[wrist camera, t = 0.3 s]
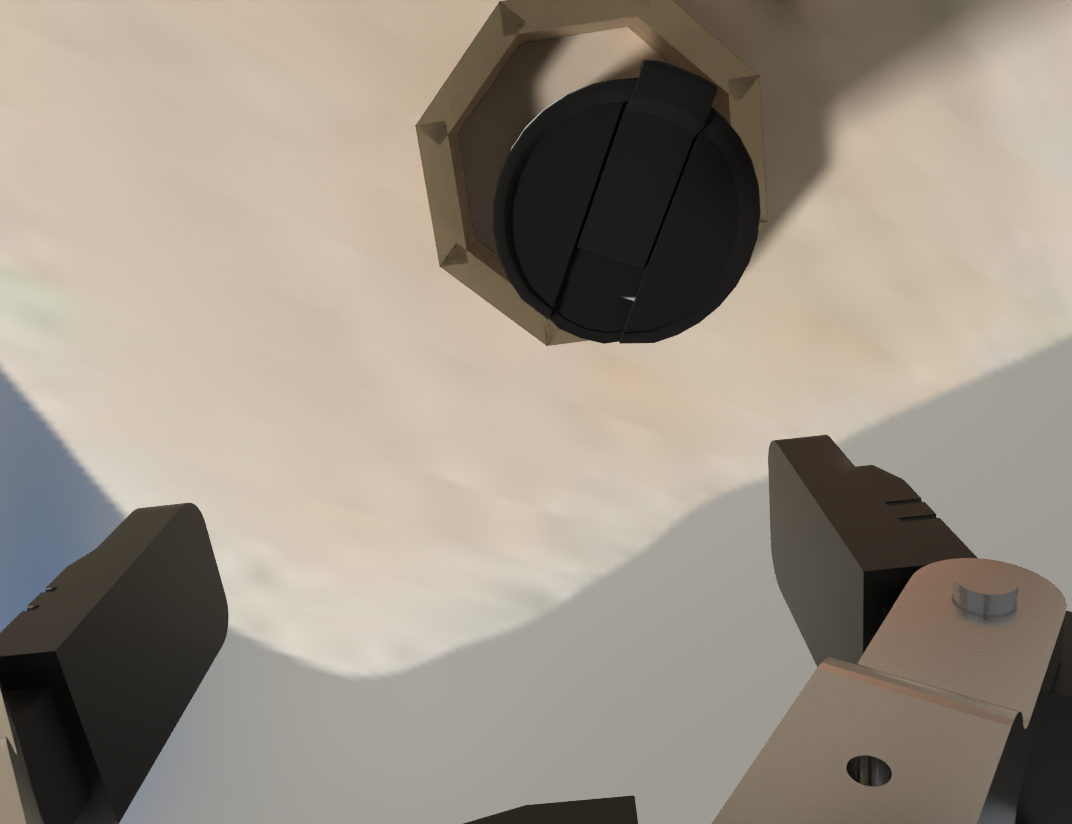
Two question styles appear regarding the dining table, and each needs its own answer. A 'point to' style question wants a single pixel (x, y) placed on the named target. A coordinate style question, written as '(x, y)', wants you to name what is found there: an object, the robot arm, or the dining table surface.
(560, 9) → the collar ring
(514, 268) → the travel mug
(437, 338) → the dining table surface
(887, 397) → the dining table surface
